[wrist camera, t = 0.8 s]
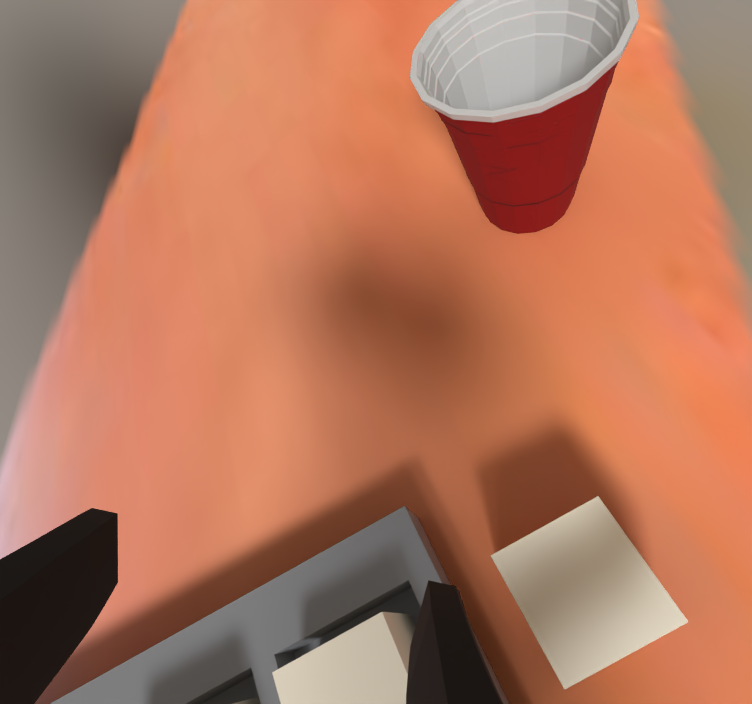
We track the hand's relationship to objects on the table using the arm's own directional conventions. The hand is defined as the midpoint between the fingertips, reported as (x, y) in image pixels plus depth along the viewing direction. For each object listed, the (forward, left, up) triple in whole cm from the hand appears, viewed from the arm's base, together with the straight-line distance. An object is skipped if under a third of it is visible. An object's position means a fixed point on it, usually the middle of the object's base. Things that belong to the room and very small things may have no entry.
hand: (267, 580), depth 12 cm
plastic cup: (+19, -18, -16) cm, 31 cm away
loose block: (-3, -7, -16) cm, 18 cm away
